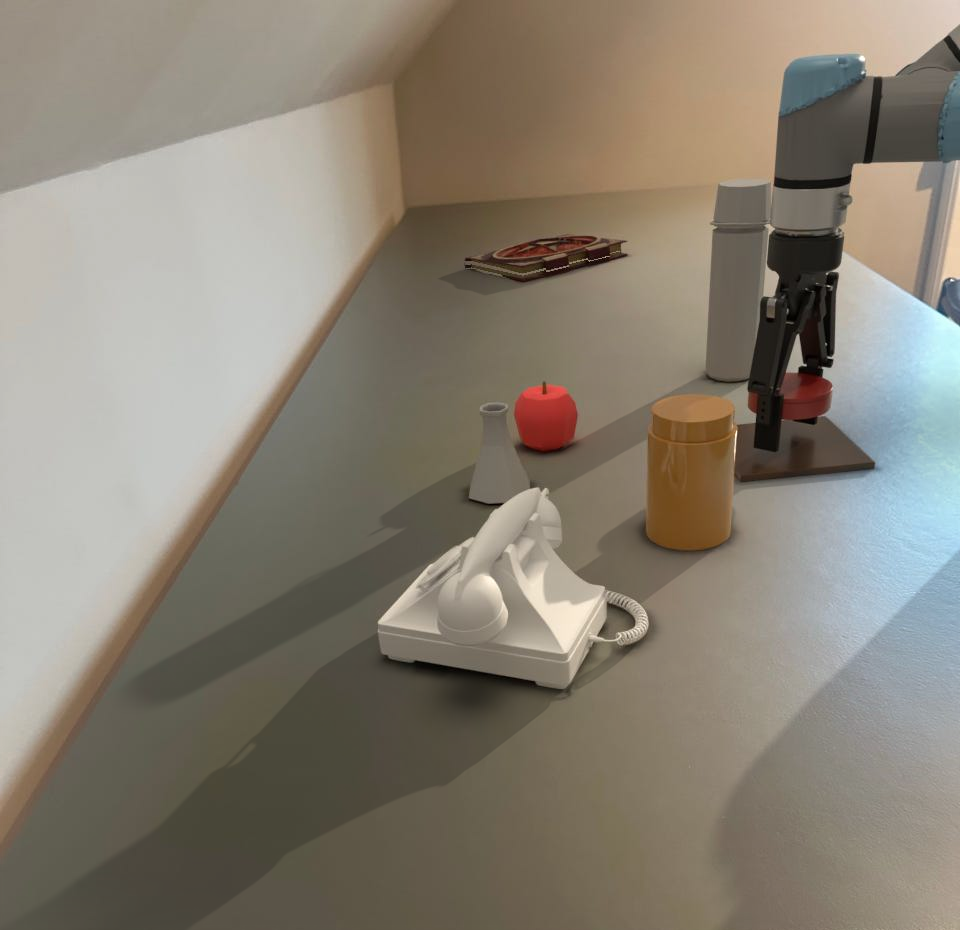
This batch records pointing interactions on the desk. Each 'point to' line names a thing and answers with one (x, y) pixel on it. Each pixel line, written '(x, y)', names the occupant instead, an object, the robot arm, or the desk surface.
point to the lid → (801, 396)
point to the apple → (545, 417)
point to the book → (549, 255)
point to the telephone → (505, 602)
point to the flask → (497, 460)
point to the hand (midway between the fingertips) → (785, 435)
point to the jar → (690, 471)
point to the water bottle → (737, 276)
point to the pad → (799, 452)
